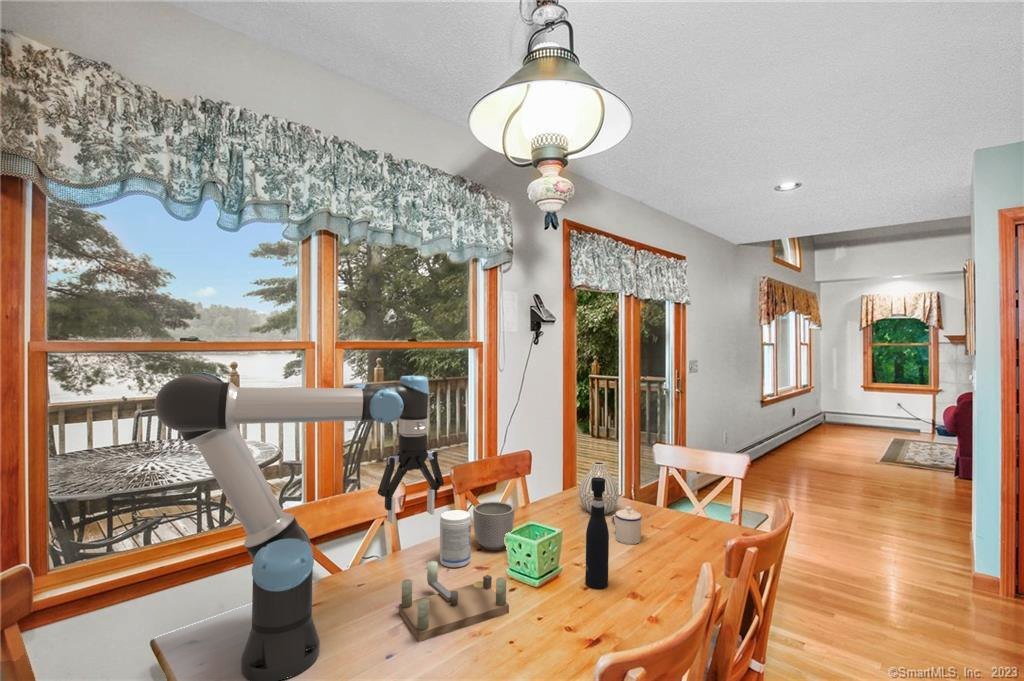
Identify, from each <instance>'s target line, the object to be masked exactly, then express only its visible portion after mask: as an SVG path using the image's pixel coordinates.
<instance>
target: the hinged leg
mask: <svg viewBox="0 0 1024 681" xmlns="http://www.w3.org/2000/svg"><path fill="white" fill-rule="evenodd" d="M426 565H427V568H426V571H427V572H426V573H427V574H426V582H427V585H429V586H430V587H431V588H432V589H434V591H436V592H437V594H440V595H441V596H442V597H444V598H445V599H446V600H447V601H448V602H449V601H451V592H450V591H449V589H448V588H446V587H445V586H444V585H443V584H441V583H440V582H439V581H438V580H439V578H438V577H439V576H438V574H439V571H438V570H439V562H438V561H436V560H431V561H428V562H427V564H426Z"/></svg>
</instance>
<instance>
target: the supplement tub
mask: <svg viewBox="0 0 1024 681" xmlns="http://www.w3.org/2000/svg"><path fill="white" fill-rule="evenodd" d="M471 520H472V519H471V513H470V512H469V511H465V510H463V509H453V510H452V509H450V510H447V511H444V512H442V513H441V514H440V520H439V562H440V564H441V565H443V566H445V567H447V568H452V569H453V568H461V567H464V566H467V565H468V564H469V563H470V562H471V550H472V549H471V546H472V545H471V543H472V542H471V541H472V539H471V538H472V537H471V536H472V533H471V532H472V528H471V527H472V525H471V524H472V522H471Z"/></svg>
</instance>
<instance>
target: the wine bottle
mask: <svg viewBox="0 0 1024 681" xmlns="http://www.w3.org/2000/svg"><path fill="white" fill-rule="evenodd" d="M591 490H592V491H594V496H593V497H594V498H593V500H592V502H593V503H592V504H593V505H592V506H591V513H590V518H589V519H588V520H589V521H588V523H587V526H586V531H585V576H584V577H585V578H584V579H585V580H584V581H585V582H584V583H585V585H586V586H587V587H588V588H589V589H593V590H596V591H597V590H600V591H601V590H605V589H607V588H608V587H609V548H610V547H609V546H610V544H609V543H610V542H609V541H610V539H609V538H610V533H609V527H608V526H609V525H608V523H607V520H606V517H605V515H604V510H605V507H604V506H603V505H604V504H603V503H604V501H603V499H602V498H603V496H602V495H603V492H604V491H605V479H604V478H599V477H594V478H592V479H591Z"/></svg>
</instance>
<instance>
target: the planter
mask: <svg viewBox="0 0 1024 681" xmlns="http://www.w3.org/2000/svg"><path fill="white" fill-rule="evenodd" d="M472 517H473V518H472V519H473V520H472V522H473V531H474V537H475V541H477V543H478V544H480V546H482V548H483V549H484V550H486V549H487V550H486V551H490V550H492V551H493V550H497V551H500V550H502V549H503V548H504V547H505V546H506V545H505V544H504V537H505V534H506V533H508V532H511V531H512V530H513V531H514V520H515V507H514V506H513V505H511V504H509V503H506V502H502V501H486V502H480V503H478V504H476V505H475V506H474V507H473V510H472ZM493 552H494V551H493Z"/></svg>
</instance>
